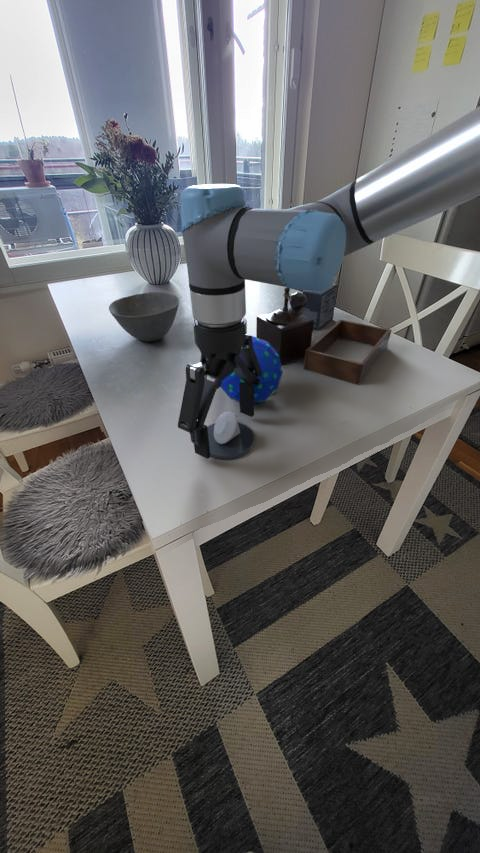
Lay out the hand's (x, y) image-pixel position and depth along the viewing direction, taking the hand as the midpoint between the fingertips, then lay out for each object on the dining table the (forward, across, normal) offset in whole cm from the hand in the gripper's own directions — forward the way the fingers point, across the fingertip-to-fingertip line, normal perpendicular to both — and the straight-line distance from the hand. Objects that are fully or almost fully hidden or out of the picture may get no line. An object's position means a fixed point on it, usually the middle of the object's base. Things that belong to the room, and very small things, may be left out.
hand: (226, 432), depth 62 cm
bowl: (+2, -25, -45) cm, 52 cm away
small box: (+2, -59, -9) cm, 60 cm away
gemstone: (+1, 0, 0) cm, 1 cm away
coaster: (+2, 0, 0) cm, 2 cm away
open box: (+2, -42, +7) cm, 43 cm away
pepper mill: (+2, -35, -6) cm, 36 cm away
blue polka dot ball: (+2, -15, -5) cm, 16 cm away
